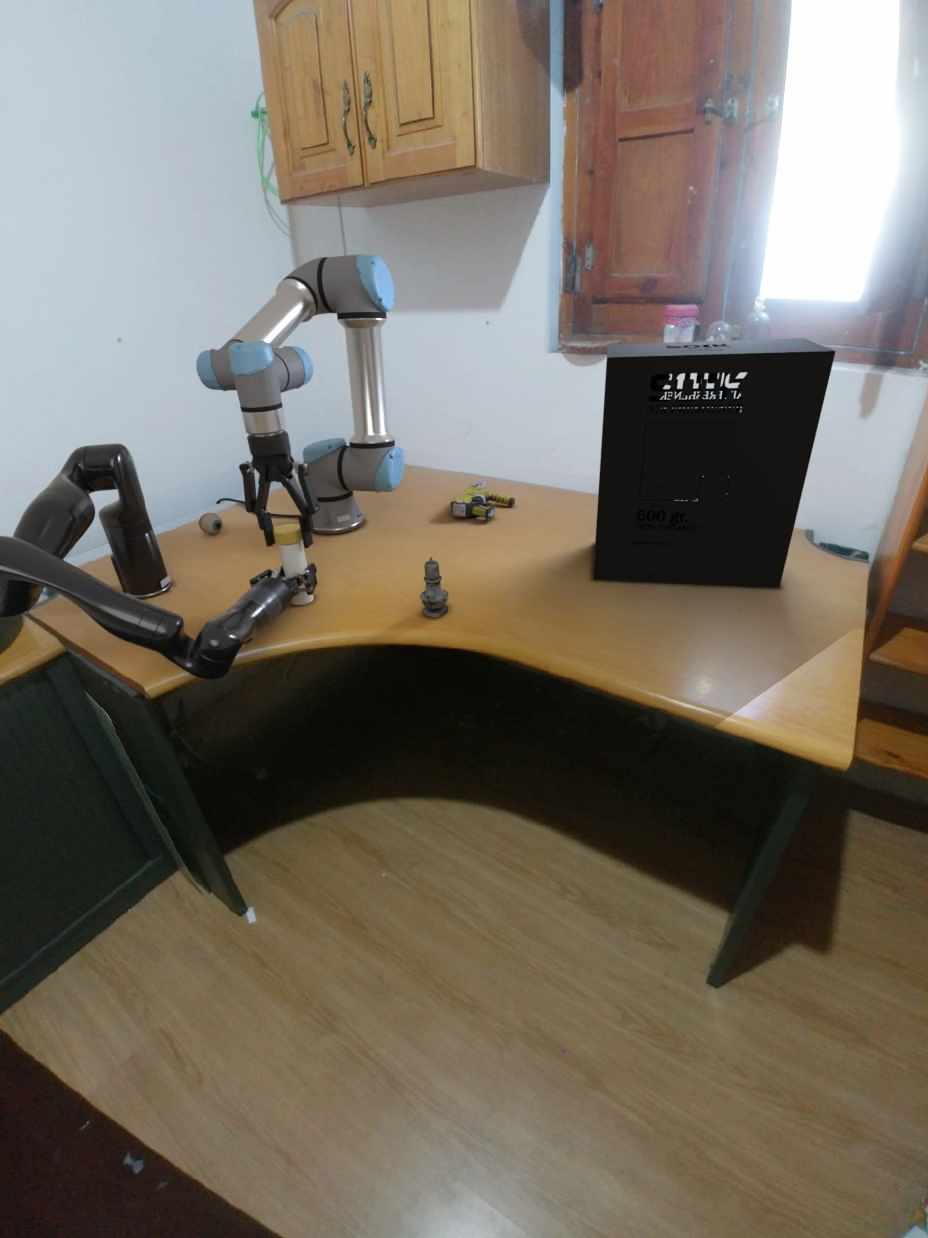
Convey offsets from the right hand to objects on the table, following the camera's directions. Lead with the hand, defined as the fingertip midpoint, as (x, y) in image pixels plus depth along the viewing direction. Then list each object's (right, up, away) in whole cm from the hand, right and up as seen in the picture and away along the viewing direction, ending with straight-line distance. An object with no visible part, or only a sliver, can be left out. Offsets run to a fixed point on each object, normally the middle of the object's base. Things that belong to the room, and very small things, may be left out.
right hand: (290, 544), depth 124 cm
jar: (+1, -11, +7) cm, 13 cm away
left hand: (+1, -4, +6) cm, 7 cm away
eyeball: (-34, +8, +44) cm, 56 cm away
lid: (0, +3, -1) cm, 3 cm away
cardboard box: (+85, -3, +12) cm, 86 cm away
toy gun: (+43, +17, +51) cm, 69 cm away
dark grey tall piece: (+30, -14, -1) cm, 33 cm away
